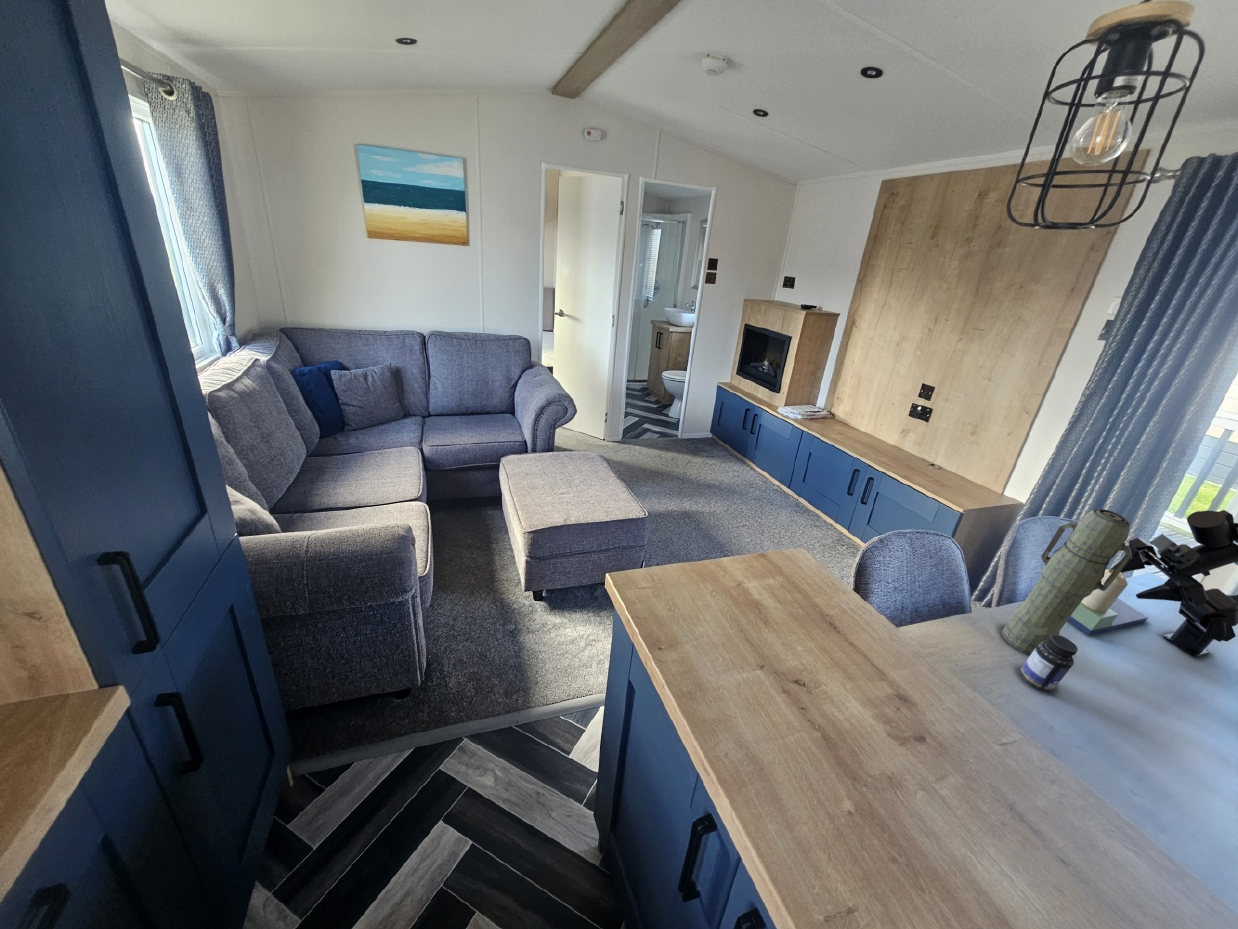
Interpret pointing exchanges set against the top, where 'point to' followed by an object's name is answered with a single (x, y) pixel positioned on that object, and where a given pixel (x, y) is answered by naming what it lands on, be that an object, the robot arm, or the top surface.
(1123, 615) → the stand
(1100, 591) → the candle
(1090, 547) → the thermos
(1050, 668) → the pill bottle
